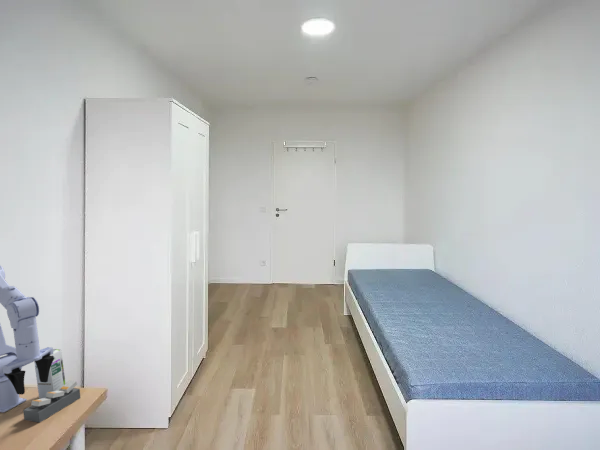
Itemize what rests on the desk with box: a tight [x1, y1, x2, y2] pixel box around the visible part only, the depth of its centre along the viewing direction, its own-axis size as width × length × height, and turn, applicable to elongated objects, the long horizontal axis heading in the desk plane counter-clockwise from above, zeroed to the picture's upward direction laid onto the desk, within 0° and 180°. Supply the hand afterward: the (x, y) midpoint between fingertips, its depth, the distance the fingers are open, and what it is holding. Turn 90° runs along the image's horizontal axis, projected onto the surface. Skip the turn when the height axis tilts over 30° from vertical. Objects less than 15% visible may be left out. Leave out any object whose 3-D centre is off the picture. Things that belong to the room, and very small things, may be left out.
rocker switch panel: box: [22, 387, 81, 423], centre depth 137 cm, size 6×15×4 cm, turn 161°
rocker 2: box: [46, 390, 64, 398], centre depth 136 cm, size 3×4×1 cm
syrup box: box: [34, 348, 66, 399], centre depth 146 cm, size 6×6×14 cm
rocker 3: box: [60, 380, 78, 393], centre depth 141 cm, size 3×4×1 cm
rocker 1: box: [30, 398, 51, 406], centre depth 132 cm, size 3×4×1 cm
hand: (32, 387), depth 129 cm, fingers open, 7 cm apart
